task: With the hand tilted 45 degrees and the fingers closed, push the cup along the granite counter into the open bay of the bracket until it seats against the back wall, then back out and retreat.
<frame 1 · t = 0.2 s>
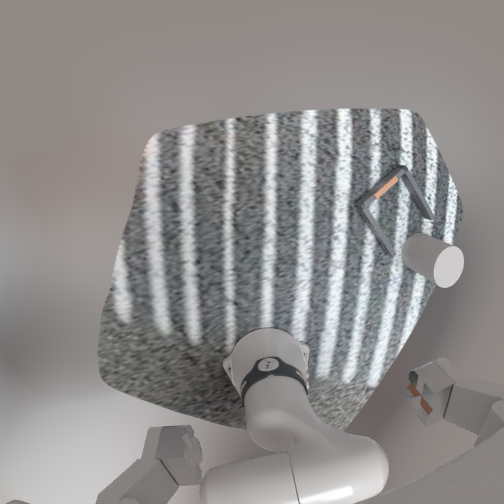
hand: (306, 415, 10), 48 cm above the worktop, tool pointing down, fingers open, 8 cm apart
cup: (416, 250, 60), on the worktop
bracket: (394, 211, 57), on the worktop
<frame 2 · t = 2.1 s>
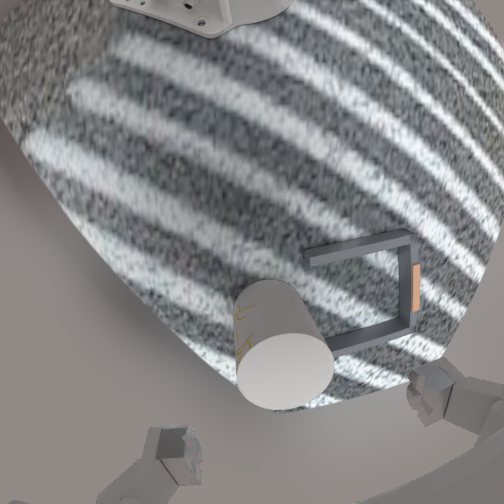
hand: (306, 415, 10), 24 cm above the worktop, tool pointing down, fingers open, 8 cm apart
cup: (268, 311, 35), on the worktop
bracket: (357, 291, 35), on the worktop
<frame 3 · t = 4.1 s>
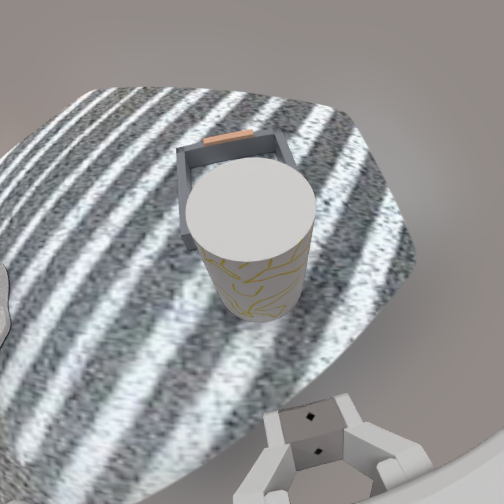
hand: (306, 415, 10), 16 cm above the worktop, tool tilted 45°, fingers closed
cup: (260, 282, 30), on the worktop
bracket: (240, 194, 35), on the worktop
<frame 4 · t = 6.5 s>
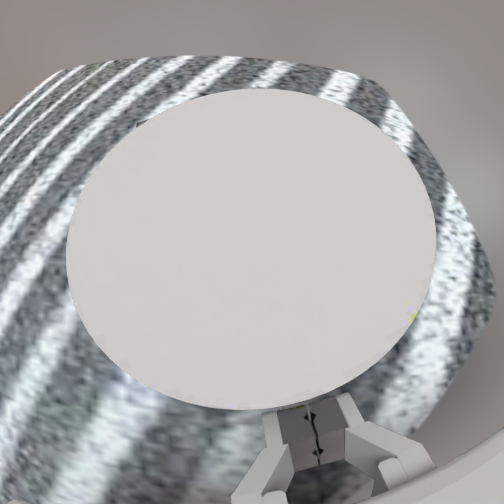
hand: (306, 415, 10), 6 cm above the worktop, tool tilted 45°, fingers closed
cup: (264, 334, 17), on the worktop, touching gripper
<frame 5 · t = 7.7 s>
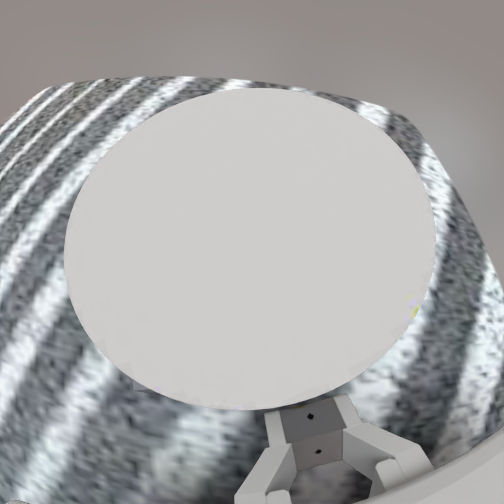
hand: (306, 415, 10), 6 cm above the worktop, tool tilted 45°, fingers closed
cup: (263, 334, 17), on the worktop, touching gripper
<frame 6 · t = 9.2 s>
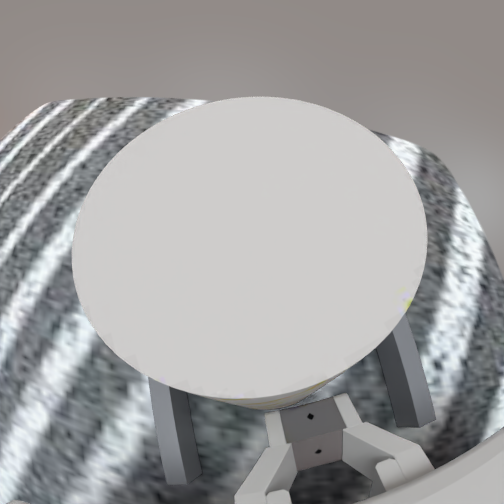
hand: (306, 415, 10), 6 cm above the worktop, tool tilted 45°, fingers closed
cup: (265, 339, 17), on the worktop, touching gripper
bracket: (279, 355, 16), on the worktop
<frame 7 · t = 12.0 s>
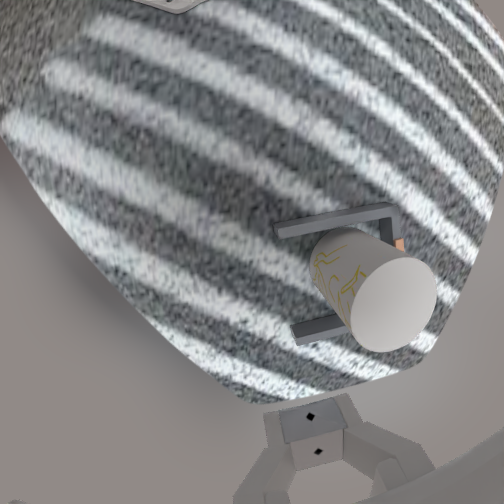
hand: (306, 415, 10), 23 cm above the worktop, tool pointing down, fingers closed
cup: (343, 262, 33), on the worktop
bracket: (335, 270, 33), on the worktop
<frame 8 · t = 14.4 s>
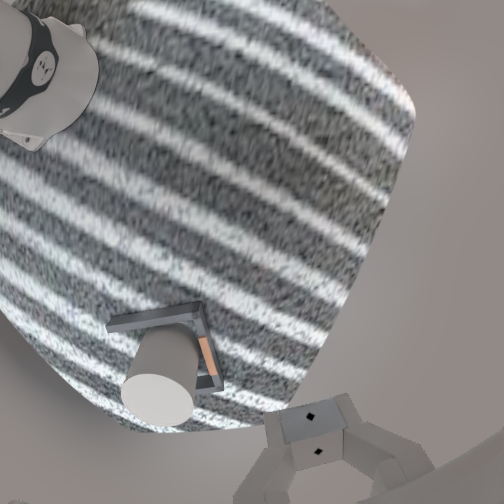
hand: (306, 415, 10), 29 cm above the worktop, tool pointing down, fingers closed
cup: (171, 345, 41), on the worktop
bracket: (165, 350, 41), on the worktop
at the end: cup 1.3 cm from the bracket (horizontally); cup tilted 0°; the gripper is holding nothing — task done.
